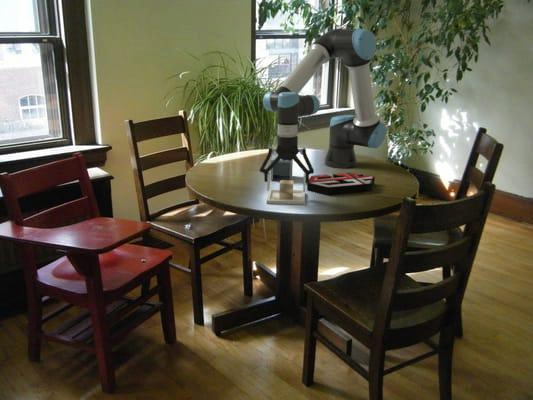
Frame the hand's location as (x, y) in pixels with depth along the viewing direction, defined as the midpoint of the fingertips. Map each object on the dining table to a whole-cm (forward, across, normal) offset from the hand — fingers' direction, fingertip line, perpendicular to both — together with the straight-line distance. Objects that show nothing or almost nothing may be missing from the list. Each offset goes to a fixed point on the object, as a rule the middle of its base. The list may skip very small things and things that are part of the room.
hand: (286, 190), depth 202 cm
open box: (+3, -3, +28) cm, 28 cm away
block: (+3, 0, 0) cm, 3 cm away
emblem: (+4, +22, +17) cm, 28 cm away
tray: (+3, 0, 0) cm, 3 cm away
